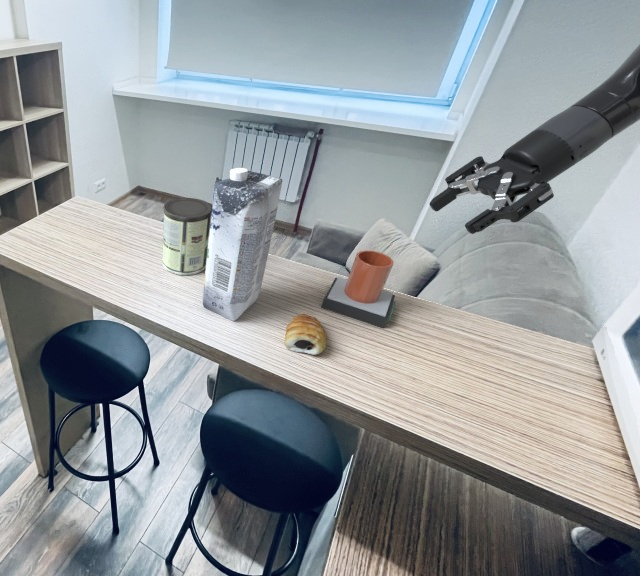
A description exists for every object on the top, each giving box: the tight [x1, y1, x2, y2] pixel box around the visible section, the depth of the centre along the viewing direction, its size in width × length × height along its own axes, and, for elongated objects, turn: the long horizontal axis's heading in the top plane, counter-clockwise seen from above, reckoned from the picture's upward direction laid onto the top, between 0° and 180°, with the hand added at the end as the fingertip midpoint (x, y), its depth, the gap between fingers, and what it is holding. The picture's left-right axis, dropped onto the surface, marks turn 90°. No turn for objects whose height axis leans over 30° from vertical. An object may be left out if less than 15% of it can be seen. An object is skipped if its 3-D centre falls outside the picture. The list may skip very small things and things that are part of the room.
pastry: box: [283, 313, 327, 356], centre depth 72 cm, size 9×7×4 cm
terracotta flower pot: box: [344, 250, 394, 303], centre depth 76 cm, size 6×6×8 cm
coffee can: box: [161, 197, 213, 276], centre depth 90 cm, size 10×10×14 cm
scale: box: [320, 276, 397, 329], centre depth 79 cm, size 11×9×3 cm
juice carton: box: [202, 167, 283, 322], centre depth 73 cm, size 9×10×27 cm
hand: (449, 218), depth 68 cm, fingers open, 8 cm apart
